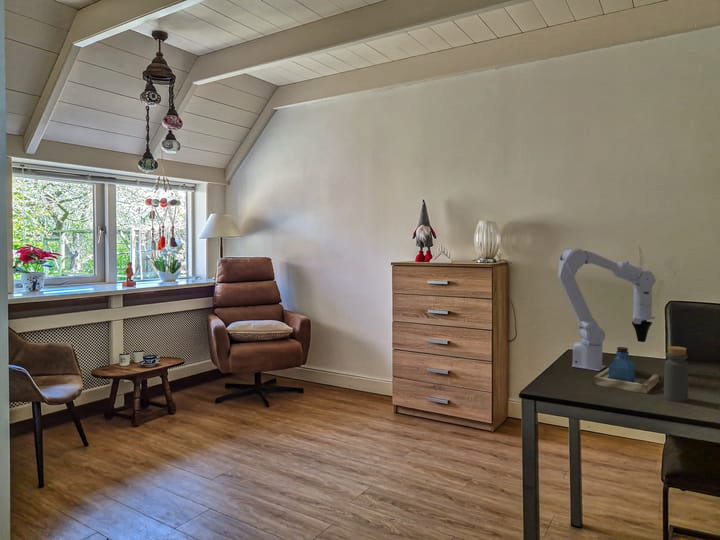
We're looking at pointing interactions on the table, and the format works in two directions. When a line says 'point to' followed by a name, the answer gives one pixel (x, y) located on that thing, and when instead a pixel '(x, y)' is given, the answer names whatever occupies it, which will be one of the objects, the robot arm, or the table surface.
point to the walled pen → (638, 386)
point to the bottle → (676, 375)
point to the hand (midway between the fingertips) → (641, 341)
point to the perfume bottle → (622, 366)
